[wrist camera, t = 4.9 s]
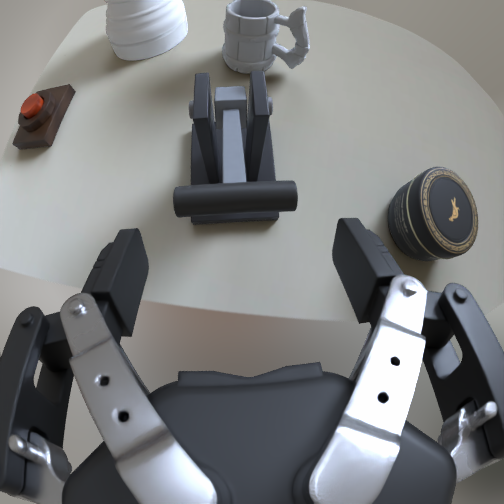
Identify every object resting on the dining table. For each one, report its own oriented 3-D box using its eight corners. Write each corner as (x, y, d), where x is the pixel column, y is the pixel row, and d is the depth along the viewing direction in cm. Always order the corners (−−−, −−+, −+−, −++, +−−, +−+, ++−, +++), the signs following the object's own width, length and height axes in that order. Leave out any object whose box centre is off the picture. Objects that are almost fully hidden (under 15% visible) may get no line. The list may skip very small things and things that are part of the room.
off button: (37, 117, 27) (31, 111, 25) (23, 120, 26) (17, 115, 25) (47, 97, 27) (41, 91, 25) (32, 100, 27) (27, 95, 25)
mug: (236, 39, 33) (237, -21, 21) (309, 62, 33) (328, 2, 21) (212, 66, 32) (207, 1, 20) (292, 92, 32) (310, 26, 20)
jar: (437, 191, 32) (471, 172, 24) (445, 263, 30) (484, 256, 23) (378, 182, 31) (410, 157, 24) (385, 263, 30) (424, 256, 22)
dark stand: (277, 220, 30) (308, 166, 16) (193, 224, 29) (158, 174, 16) (268, 125, 31) (284, 41, 18) (193, 129, 31) (173, 46, 17)
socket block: (51, 146, 30) (37, 134, 26) (19, 149, 30) (5, 139, 26) (75, 91, 31) (65, 77, 27) (42, 98, 31) (31, 86, 27)
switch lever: (293, 224, 13) (301, 186, 11) (179, 230, 13) (169, 193, 11) (265, 111, 20) (266, 85, 18) (196, 115, 20) (193, 89, 18)
